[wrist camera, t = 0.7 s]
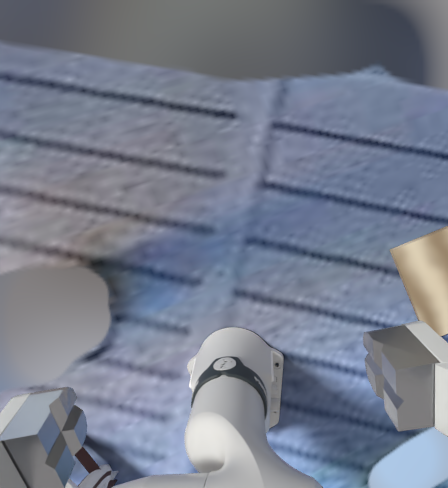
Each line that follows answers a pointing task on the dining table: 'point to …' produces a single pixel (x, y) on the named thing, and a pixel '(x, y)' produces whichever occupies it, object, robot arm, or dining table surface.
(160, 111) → the dining table surface
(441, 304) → the birch board
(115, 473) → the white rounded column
